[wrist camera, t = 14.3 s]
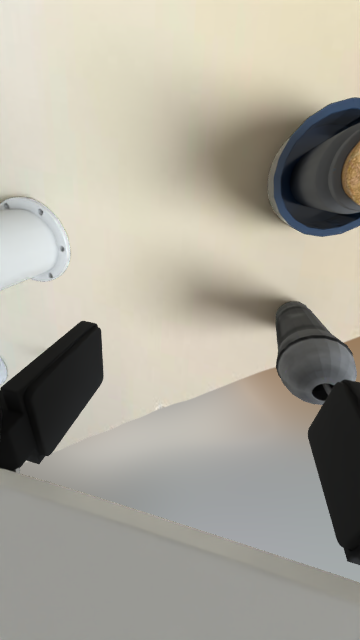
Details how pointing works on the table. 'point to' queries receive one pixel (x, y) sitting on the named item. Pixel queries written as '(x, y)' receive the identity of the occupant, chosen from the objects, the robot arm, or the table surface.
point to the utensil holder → (2, 371)
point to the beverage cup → (310, 354)
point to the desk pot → (298, 144)
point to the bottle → (330, 174)
